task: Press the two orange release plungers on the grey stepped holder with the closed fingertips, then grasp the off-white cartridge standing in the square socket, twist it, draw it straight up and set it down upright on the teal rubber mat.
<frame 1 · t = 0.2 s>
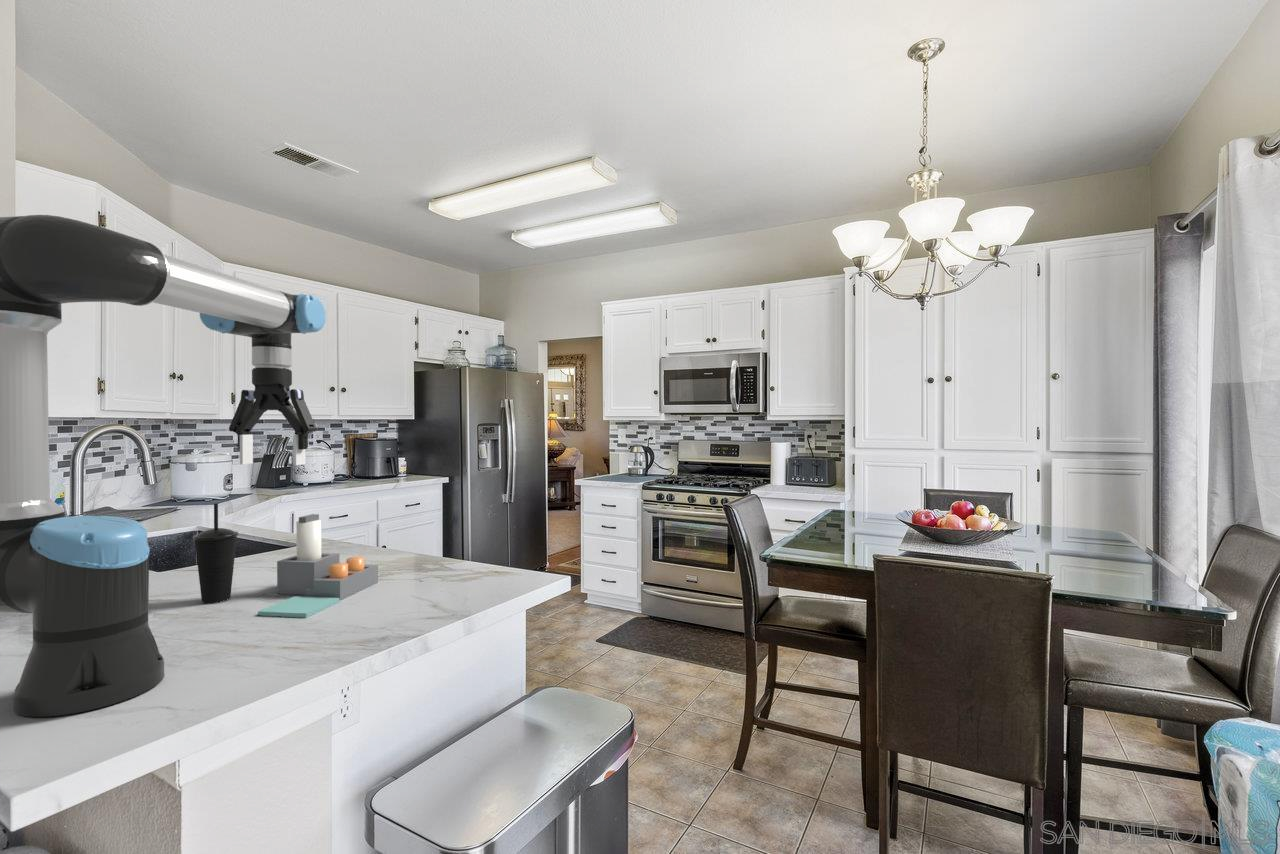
hand: (272, 464, 132), 27 cm above the counter, fingers open, 13 cm apart
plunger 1: (338, 576, 128), point 4 cm above the counter, slide at 0.7 cm
cartridge: (309, 589, 132), resting in grey stepped holder
grey stepped holder: (324, 589, 131), on the counter
mat: (300, 608, 118), on the counter
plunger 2: (355, 569, 134), point 4 cm above the counter, slide at 0.7 cm
drinking cup: (216, 601, 123), on the counter
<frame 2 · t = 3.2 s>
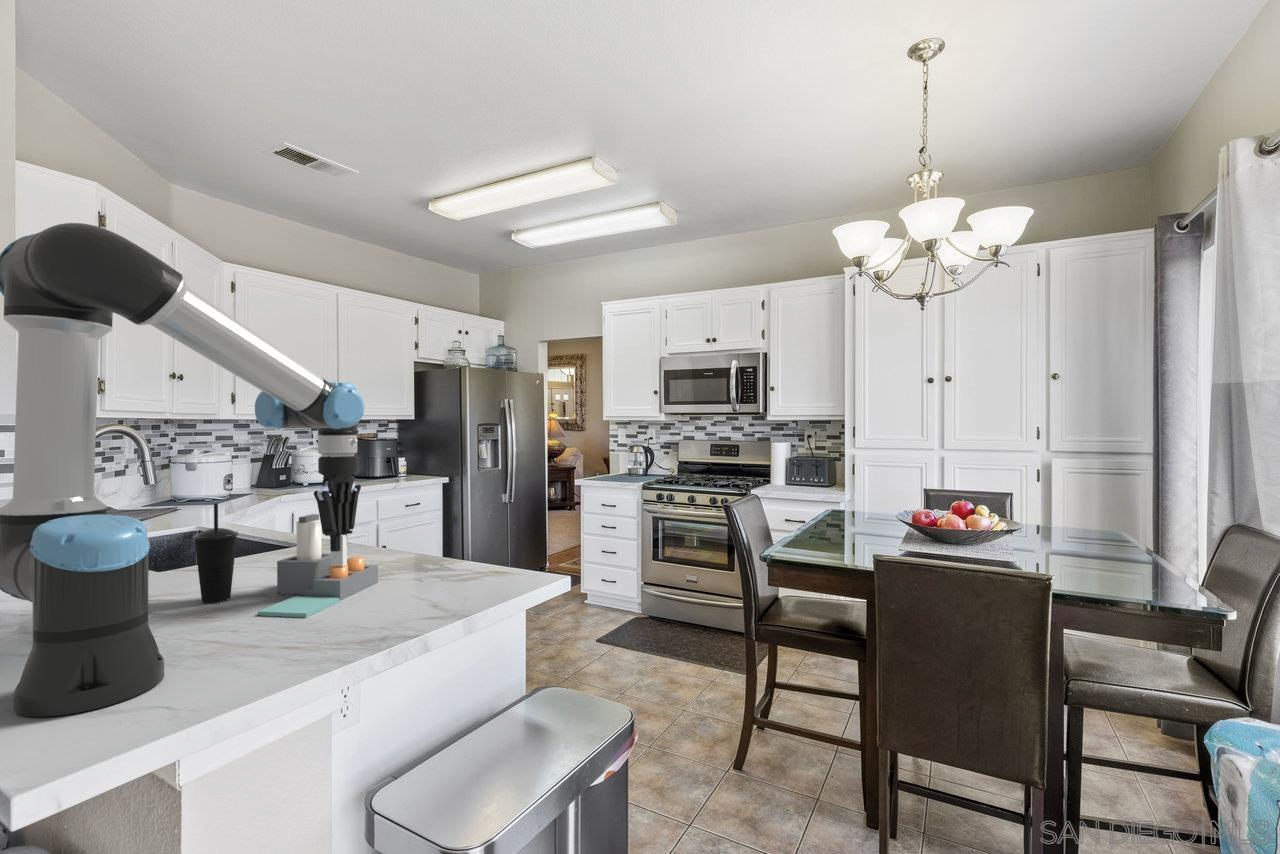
hand: (339, 565, 128), 6 cm above the counter, fingers closed
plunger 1: (338, 578, 128), point 3 cm above the counter, slide at 1.1 cm, touching gripper
everything else where it was.
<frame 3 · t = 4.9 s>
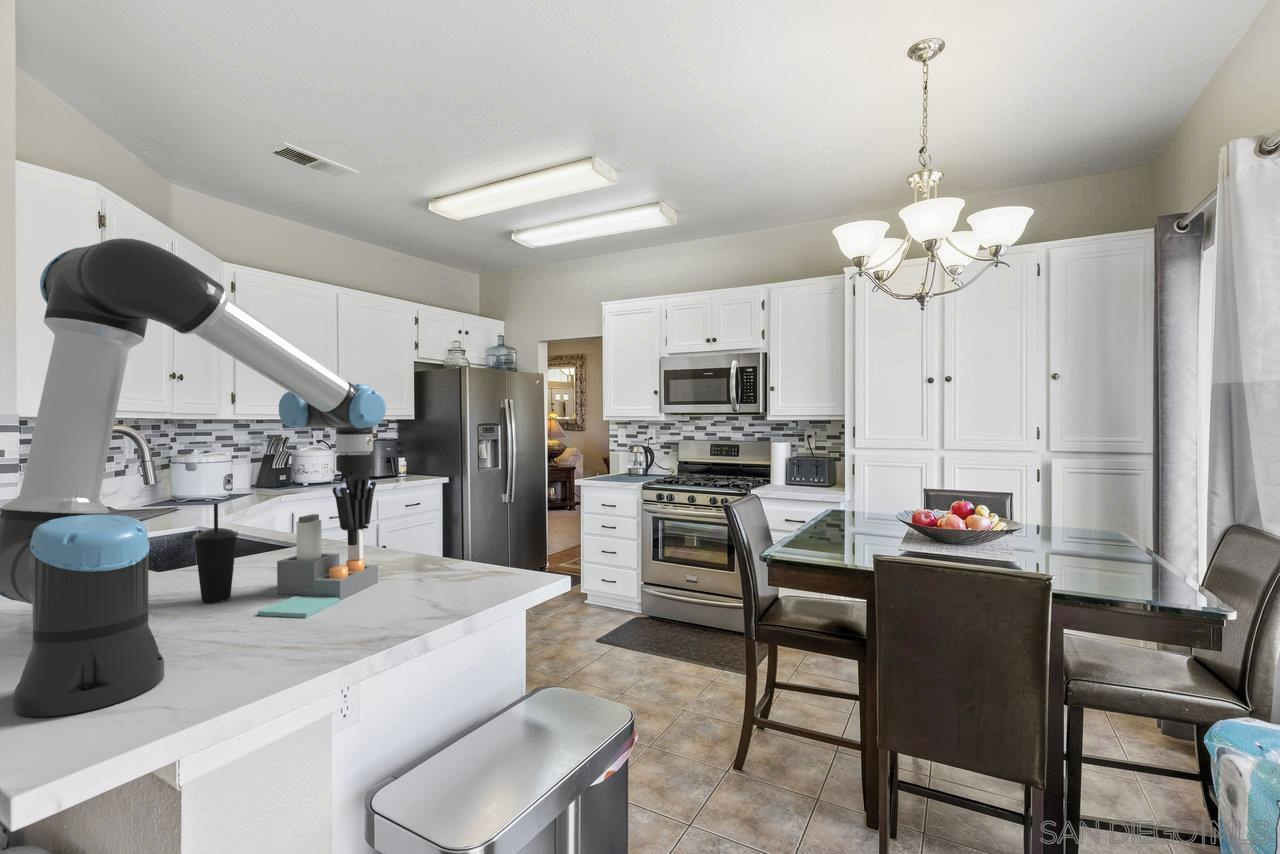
hand: (355, 558, 134), 6 cm above the counter, fingers closed
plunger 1: (338, 579, 128), point 3 cm above the counter, slide at 1.3 cm
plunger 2: (355, 571, 134), point 3 cm above the counter, slide at 1.0 cm, touching gripper
everything else where it was.
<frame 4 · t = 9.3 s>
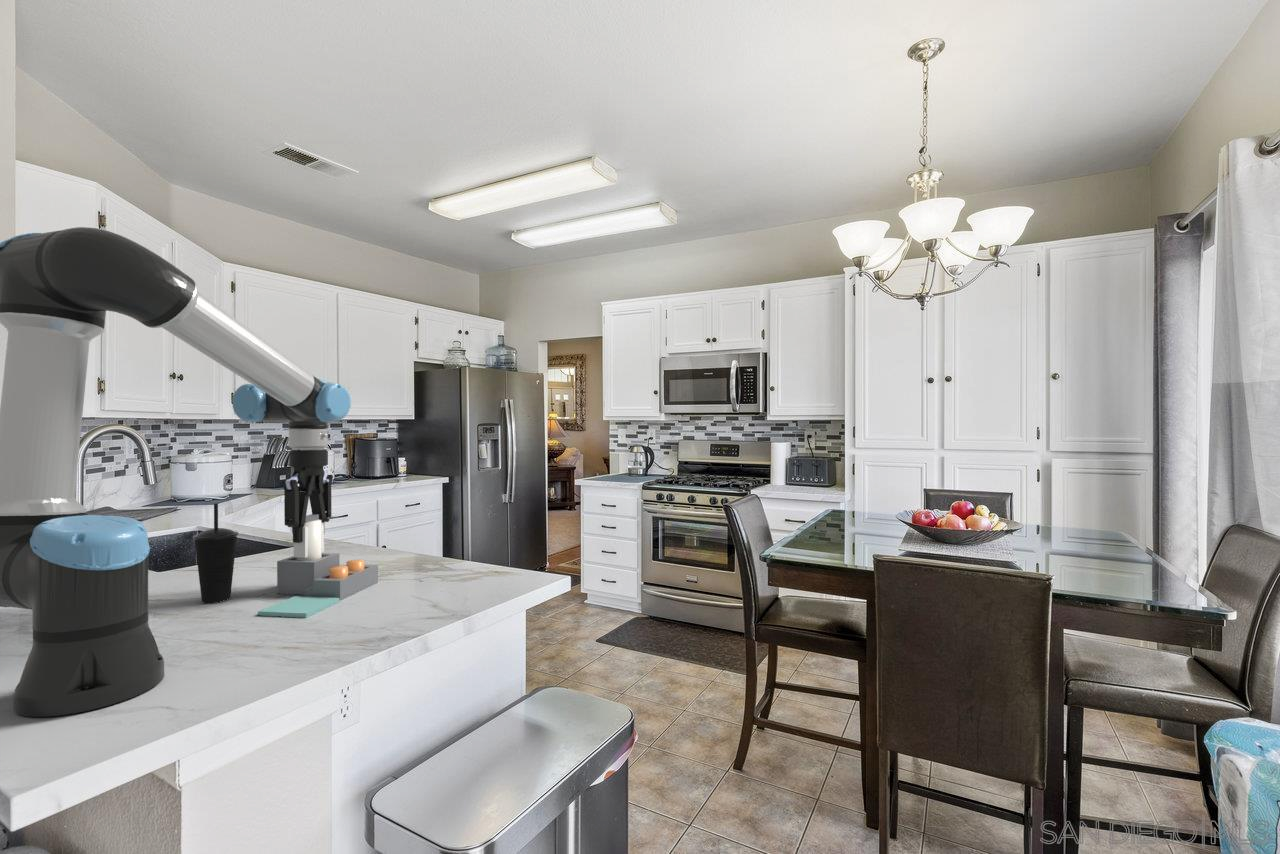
hand: (309, 554, 132), 8 cm above the counter, fingers closed on cartridge, 5 cm apart
cartridge: (309, 589, 132), resting in grey stepped holder, touching gripper
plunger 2: (355, 572, 134), point 3 cm above the counter, slide at 1.3 cm
everything else where it was.
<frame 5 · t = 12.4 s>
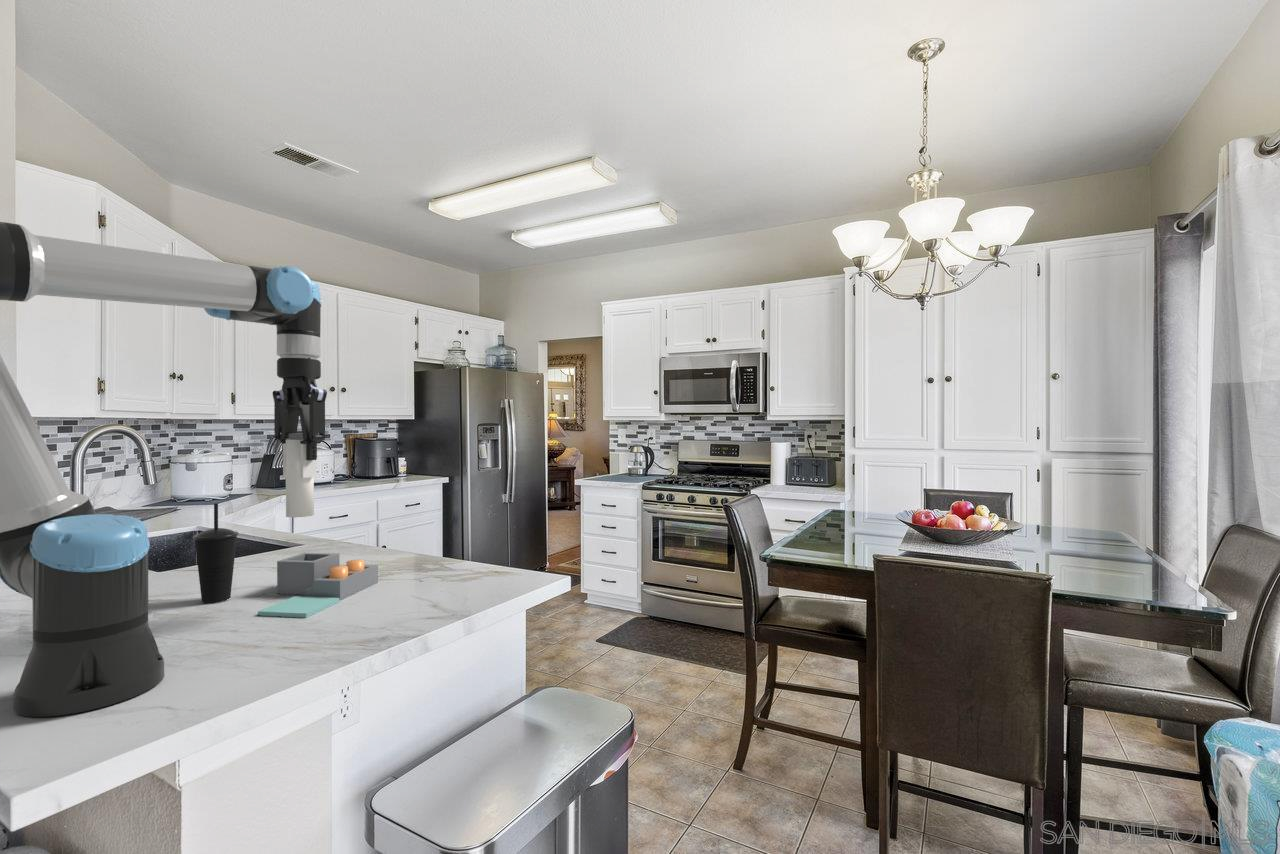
hand: (299, 476, 118), 26 cm above the counter, fingers closed on cartridge, 5 cm apart
cartridge: (300, 515, 118), point 18 cm above the counter, touching gripper
everything else where it was.
when the fingers open (10 cm above the counter, at t = 15.6 s): cartridge drops 1 cm, resting on mat.
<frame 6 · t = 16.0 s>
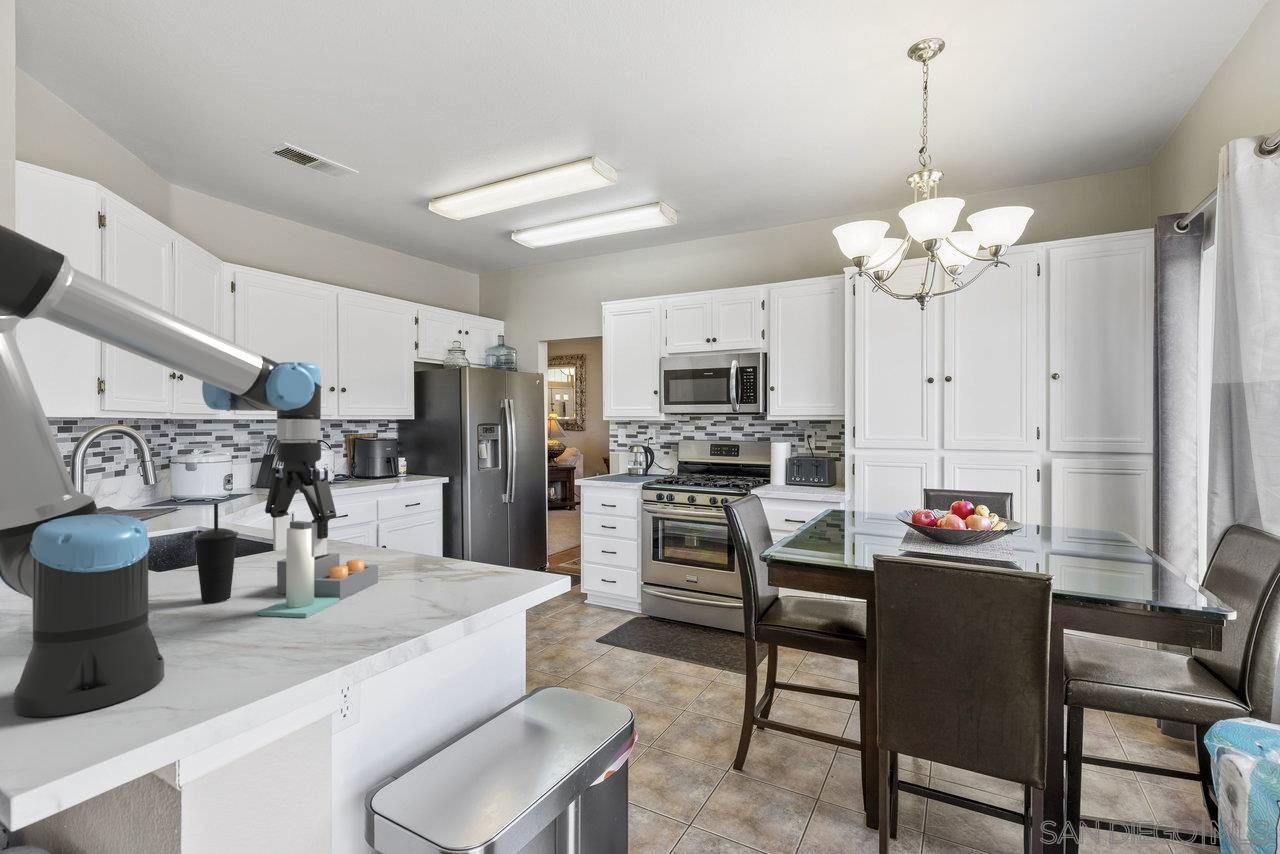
hand: (299, 552, 118), 11 cm above the counter, fingers open, 11 cm apart
cartridge: (300, 604, 118), point 1 cm above the counter, touching mat
everything else where it was.
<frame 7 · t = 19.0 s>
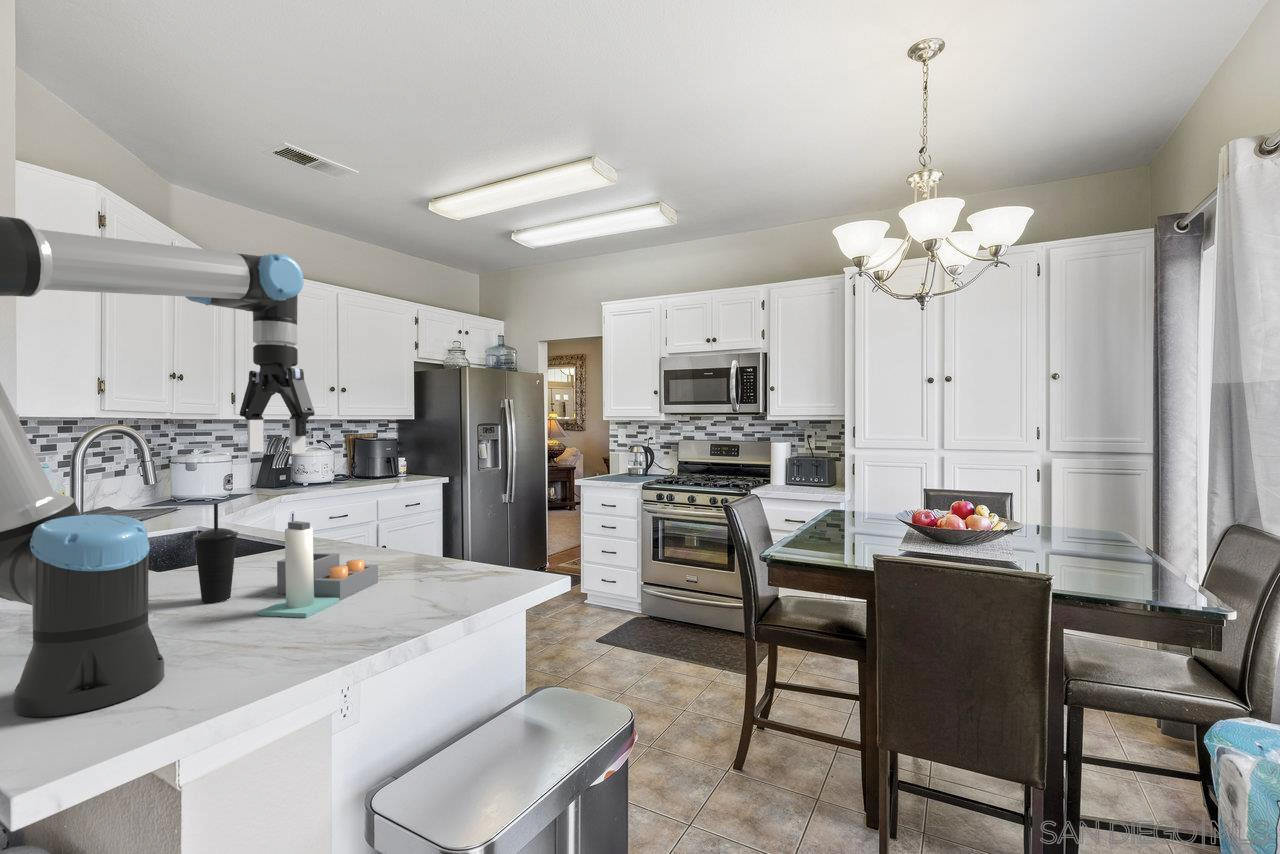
hand: (276, 452, 118), 31 cm above the counter, fingers open, 13 cm apart
nothing on the counter moved.
at the end: cartridge inside the target area on the mat (0.0 cm from its centre), point 0.8 cm above the mat's base; cartridge tilted 1°; the gripper is holding nothing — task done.
